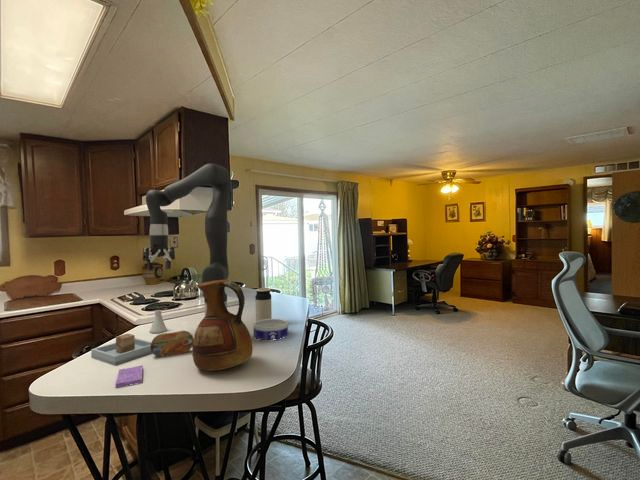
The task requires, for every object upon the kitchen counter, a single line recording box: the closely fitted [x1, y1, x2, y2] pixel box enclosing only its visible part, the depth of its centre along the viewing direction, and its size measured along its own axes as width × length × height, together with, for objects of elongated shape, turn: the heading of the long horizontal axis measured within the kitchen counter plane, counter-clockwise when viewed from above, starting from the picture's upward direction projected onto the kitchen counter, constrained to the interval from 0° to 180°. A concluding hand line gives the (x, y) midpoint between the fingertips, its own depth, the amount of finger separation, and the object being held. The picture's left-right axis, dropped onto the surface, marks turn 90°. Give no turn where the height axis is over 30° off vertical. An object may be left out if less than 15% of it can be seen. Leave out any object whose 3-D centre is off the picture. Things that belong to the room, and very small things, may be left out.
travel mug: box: [254, 287, 273, 322], centre depth 165 cm, size 8×8×18 cm
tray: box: [90, 337, 153, 366], centre depth 124 cm, size 16×16×3 cm
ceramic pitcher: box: [191, 279, 254, 371], centre depth 112 cm, size 20×20×30 cm
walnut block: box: [115, 333, 136, 354], centre depth 124 cm, size 4×4×6 cm
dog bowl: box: [253, 318, 289, 341], centre depth 146 cm, size 15×15×6 cm
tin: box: [150, 330, 194, 358], centre depth 124 cm, size 15×3×8 cm, turn 117°
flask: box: [149, 309, 168, 334], centre depth 154 cm, size 7×7×10 cm
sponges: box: [114, 364, 144, 389], centre depth 103 cm, size 7×13×2 cm, turn 28°
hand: (159, 270), depth 147 cm, fingers open, 8 cm apart
